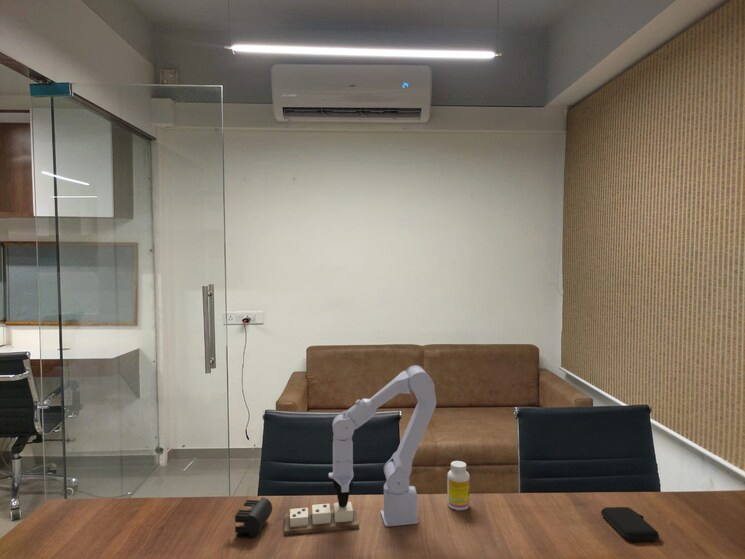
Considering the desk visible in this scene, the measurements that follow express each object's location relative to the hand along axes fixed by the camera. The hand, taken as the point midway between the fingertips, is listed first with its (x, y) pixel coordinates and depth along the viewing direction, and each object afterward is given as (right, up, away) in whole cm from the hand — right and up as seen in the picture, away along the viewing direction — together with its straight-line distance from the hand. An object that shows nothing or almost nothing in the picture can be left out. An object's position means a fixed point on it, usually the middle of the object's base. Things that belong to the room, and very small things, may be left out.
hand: (342, 505), depth 134 cm
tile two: (-6, -4, -1) cm, 7 cm away
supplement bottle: (+35, -5, +9) cm, 36 cm away
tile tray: (-6, -5, -1) cm, 8 cm away
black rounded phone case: (+80, -5, -3) cm, 80 cm away
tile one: (0, -3, 0) cm, 3 cm away
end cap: (-24, -5, -4) cm, 25 cm away
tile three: (-12, -4, -2) cm, 13 cm away
